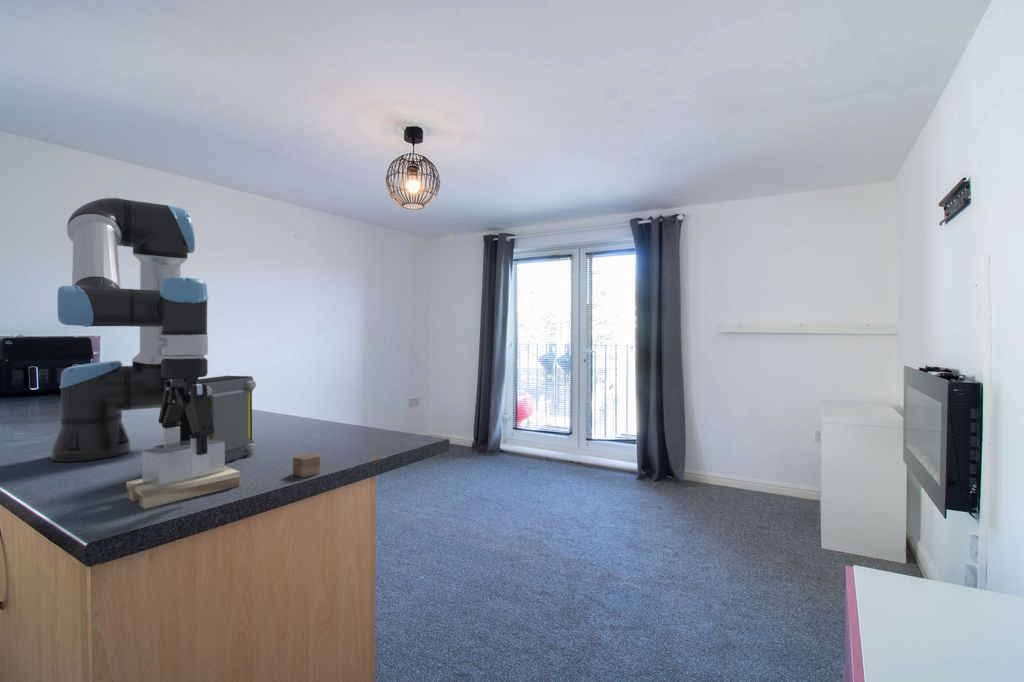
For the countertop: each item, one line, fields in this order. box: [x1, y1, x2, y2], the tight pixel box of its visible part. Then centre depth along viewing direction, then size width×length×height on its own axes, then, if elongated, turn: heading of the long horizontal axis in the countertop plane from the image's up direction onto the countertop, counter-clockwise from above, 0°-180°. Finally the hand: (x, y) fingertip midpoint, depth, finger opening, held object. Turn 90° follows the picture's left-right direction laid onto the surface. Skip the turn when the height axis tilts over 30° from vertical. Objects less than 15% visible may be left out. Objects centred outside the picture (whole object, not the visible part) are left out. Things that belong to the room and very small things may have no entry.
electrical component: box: [175, 375, 257, 463], centre depth 116 cm, size 18×10×20 cm, turn 168°
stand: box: [126, 465, 241, 510], centre depth 94 cm, size 10×16×3 cm, turn 144°
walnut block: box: [292, 452, 321, 478], centre depth 107 cm, size 4×4×4 cm
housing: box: [141, 439, 226, 487], centre depth 94 cm, size 12×6×7 cm, turn 152°
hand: (185, 465), depth 94 cm, fingers open, 13 cm apart
